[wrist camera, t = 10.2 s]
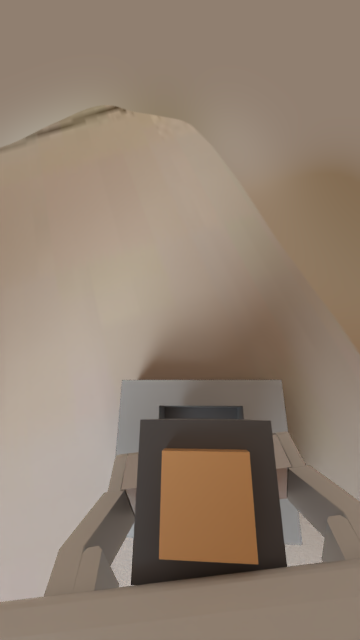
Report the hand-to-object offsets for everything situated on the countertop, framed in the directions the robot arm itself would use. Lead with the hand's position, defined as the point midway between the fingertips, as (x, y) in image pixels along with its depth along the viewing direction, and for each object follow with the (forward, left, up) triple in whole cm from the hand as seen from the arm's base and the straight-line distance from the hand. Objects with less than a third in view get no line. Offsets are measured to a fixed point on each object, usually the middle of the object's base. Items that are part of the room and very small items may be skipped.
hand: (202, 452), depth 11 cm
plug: (0, -1, -5) cm, 5 cm away
